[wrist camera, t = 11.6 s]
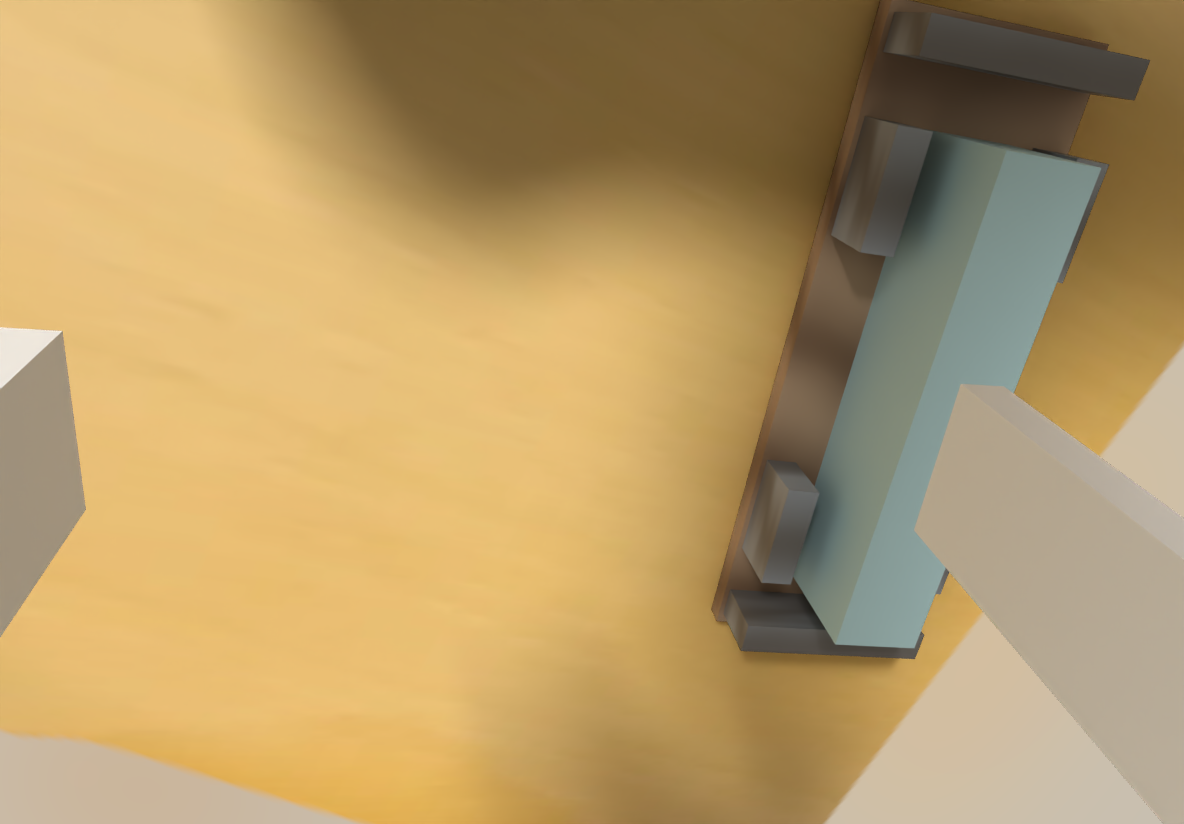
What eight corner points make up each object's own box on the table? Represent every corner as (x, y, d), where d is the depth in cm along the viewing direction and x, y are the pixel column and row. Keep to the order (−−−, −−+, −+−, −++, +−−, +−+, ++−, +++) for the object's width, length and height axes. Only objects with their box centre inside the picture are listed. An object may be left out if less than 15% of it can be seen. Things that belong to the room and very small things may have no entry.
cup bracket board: (881, -4, 36) (930, -4, 33) (1093, 43, 38) (1161, 47, 35) (711, 609, 48) (733, 659, 44) (881, 619, 50) (916, 666, 46)
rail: (925, 129, 38) (1006, 150, 32) (1008, 144, 39) (1101, 167, 33) (788, 569, 46) (835, 644, 41) (859, 574, 47) (914, 648, 42)
